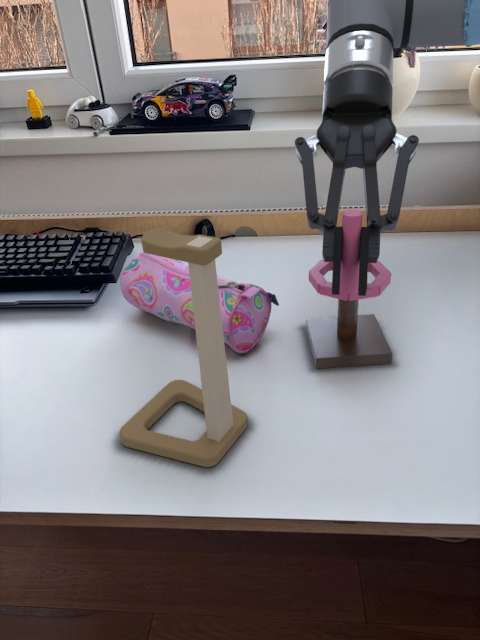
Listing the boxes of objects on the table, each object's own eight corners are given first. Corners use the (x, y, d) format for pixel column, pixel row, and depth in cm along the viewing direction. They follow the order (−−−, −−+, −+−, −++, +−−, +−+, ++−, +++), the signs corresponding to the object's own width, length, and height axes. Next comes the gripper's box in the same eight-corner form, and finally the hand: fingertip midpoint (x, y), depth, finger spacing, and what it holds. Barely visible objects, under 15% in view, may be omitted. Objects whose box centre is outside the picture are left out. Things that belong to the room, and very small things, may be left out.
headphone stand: (176, 385, 63) (147, 205, 52) (258, 414, 58) (247, 221, 47) (115, 443, 56) (66, 247, 44) (203, 481, 51) (174, 271, 39)
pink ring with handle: (305, 301, 60) (305, 216, 55) (311, 262, 68) (312, 184, 63) (392, 304, 58) (401, 216, 53) (388, 264, 67) (395, 184, 61)
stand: (373, 323, 72) (380, 228, 65) (391, 363, 64) (401, 260, 57) (305, 328, 72) (305, 233, 65) (315, 368, 65) (316, 266, 57)
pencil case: (281, 333, 71) (279, 272, 67) (236, 368, 66) (231, 303, 61) (168, 291, 84) (160, 236, 79) (122, 316, 78) (110, 259, 73)
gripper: (287, 68, 58) (271, 278, 53) (434, 62, 55) (432, 283, 50) (292, 110, 65) (279, 298, 60) (423, 106, 63) (420, 303, 57)
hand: (349, 291), depth 55 cm, fingers closed on pink ring with handle, 2 cm apart
